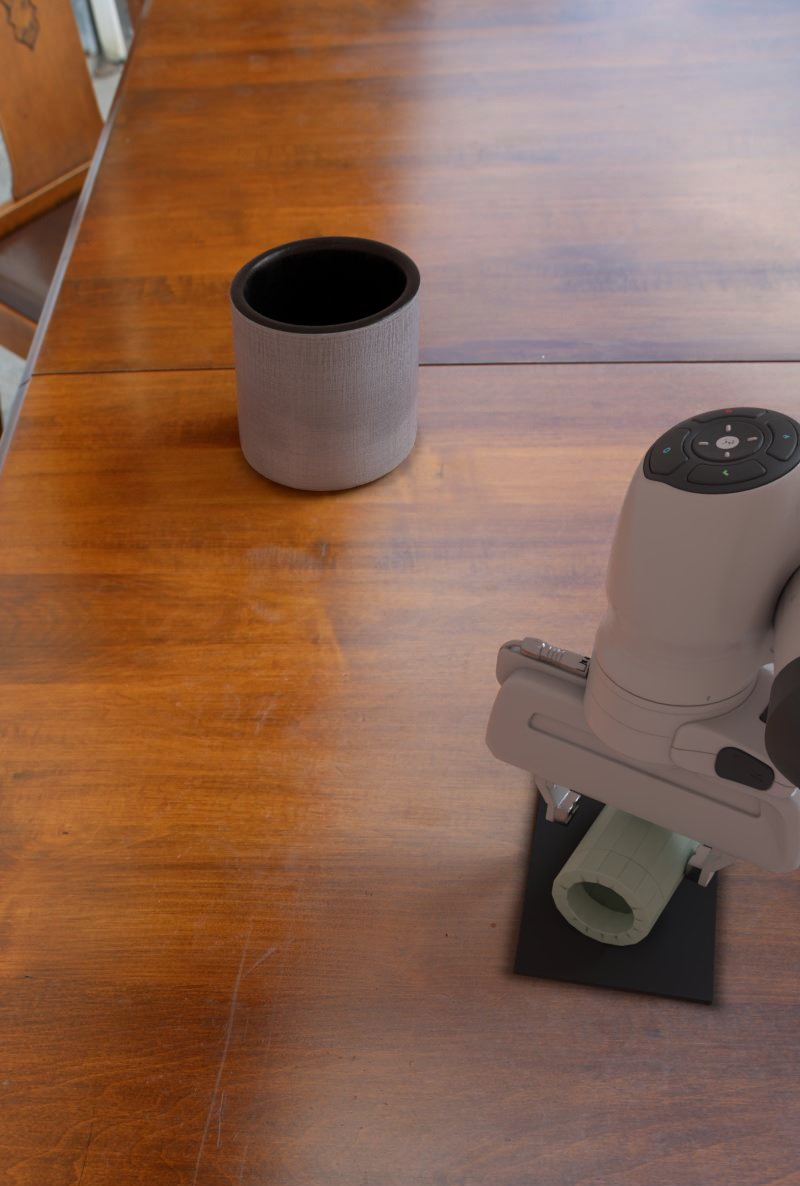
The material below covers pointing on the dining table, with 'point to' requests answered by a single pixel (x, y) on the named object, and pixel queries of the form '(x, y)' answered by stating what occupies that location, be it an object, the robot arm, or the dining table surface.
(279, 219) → the dining table surface
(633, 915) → the green hollow cylinder
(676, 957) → the mat
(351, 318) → the planter
